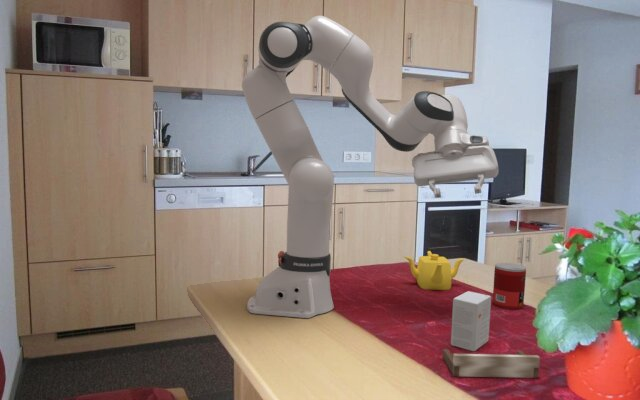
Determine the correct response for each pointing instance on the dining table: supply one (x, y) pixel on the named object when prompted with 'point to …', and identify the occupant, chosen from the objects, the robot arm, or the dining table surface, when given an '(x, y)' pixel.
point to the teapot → (434, 271)
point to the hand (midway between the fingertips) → (457, 194)
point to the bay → (492, 365)
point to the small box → (470, 320)
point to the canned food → (509, 285)
